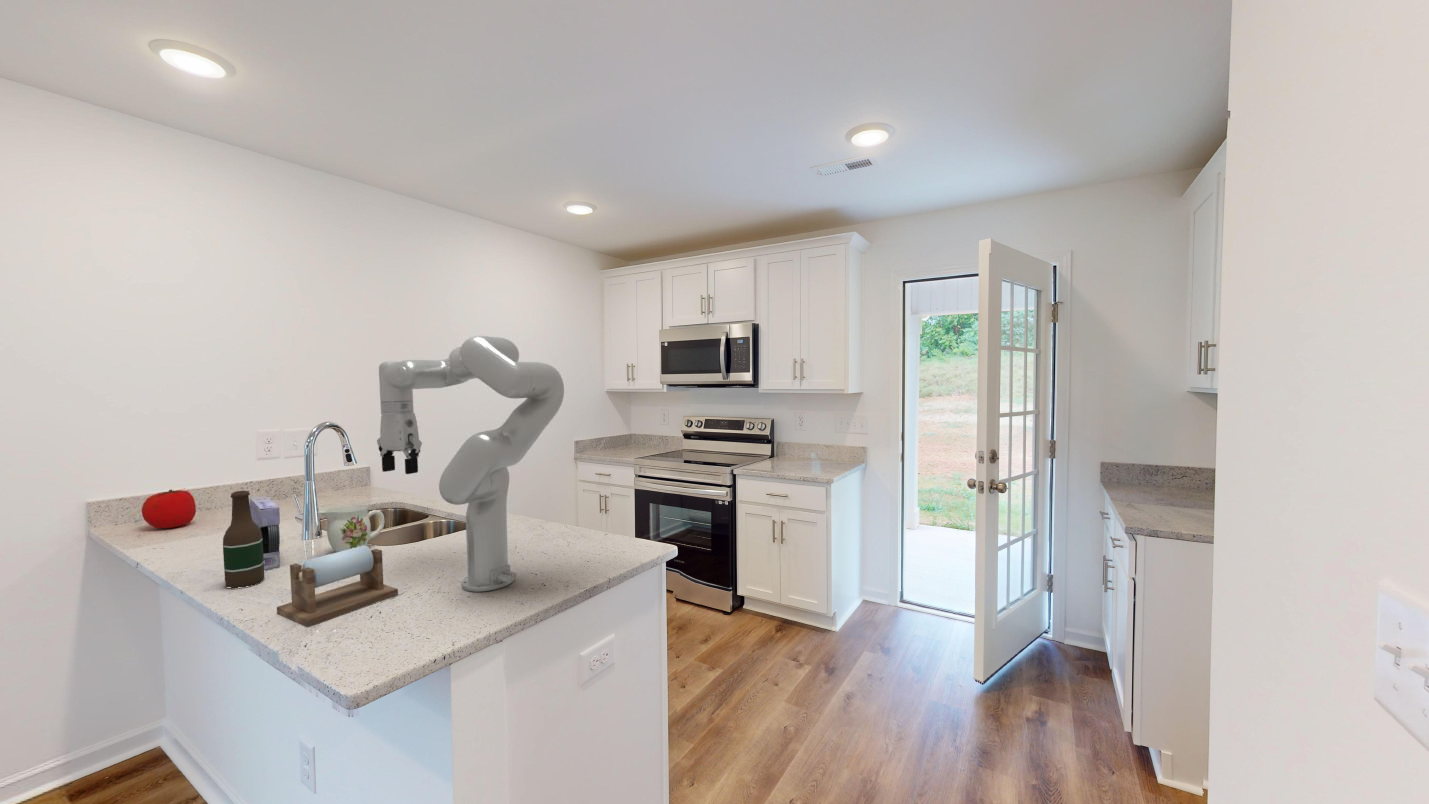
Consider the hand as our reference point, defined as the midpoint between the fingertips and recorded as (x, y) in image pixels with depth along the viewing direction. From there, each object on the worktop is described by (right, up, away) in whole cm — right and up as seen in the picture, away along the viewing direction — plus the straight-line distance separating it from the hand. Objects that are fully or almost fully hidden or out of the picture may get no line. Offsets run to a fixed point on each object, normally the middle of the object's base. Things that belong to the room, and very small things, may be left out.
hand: (400, 472), depth 144 cm
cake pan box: (-45, -28, +11) cm, 54 cm away
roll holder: (-3, -28, -18) cm, 34 cm away
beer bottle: (-37, -28, -5) cm, 47 cm away
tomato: (-113, -27, +51) cm, 127 cm away
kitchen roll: (-4, -22, -18) cm, 29 cm away
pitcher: (-27, -27, +21) cm, 43 cm away
